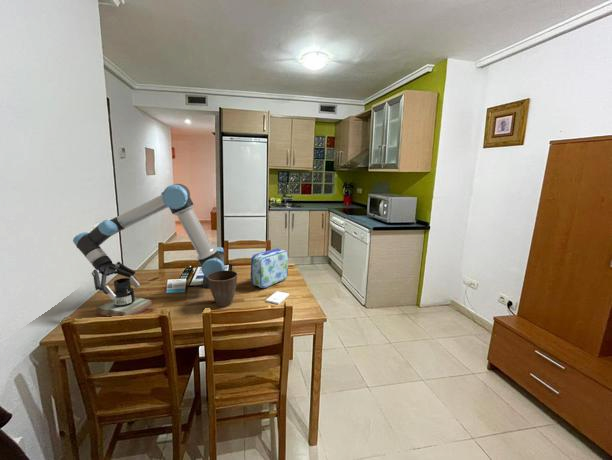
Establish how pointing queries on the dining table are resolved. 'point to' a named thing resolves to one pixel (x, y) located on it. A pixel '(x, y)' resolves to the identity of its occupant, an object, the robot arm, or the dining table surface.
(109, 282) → the dining table surface
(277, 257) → the lunch box
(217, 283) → the plant pot
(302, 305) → the dining table surface
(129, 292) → the ink bottle
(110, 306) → the mat platform
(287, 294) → the external hard drive
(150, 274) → the dining table surface
